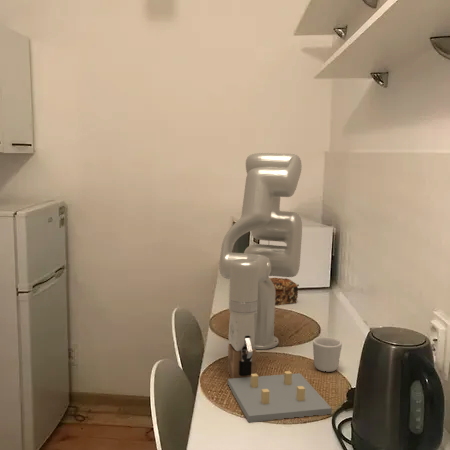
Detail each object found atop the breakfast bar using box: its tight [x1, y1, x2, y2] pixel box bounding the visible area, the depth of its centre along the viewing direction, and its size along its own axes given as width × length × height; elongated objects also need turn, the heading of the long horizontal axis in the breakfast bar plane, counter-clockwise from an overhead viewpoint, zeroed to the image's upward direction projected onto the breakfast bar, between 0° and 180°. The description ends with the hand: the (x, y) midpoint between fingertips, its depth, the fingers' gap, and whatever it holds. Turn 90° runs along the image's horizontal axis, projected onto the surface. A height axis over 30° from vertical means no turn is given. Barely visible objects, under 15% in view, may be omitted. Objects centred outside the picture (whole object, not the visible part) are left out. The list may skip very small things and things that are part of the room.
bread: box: [269, 277, 299, 306], centre depth 215 cm, size 19×11×10 cm, turn 112°
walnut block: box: [227, 343, 257, 378], centre depth 143 cm, size 6×6×8 cm
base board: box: [227, 370, 333, 423], centre depth 130 cm, size 20×20×4 cm
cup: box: [312, 336, 343, 373], centre depth 150 cm, size 11×8×8 cm
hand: (241, 368), depth 144 cm, fingers open, 6 cm apart
